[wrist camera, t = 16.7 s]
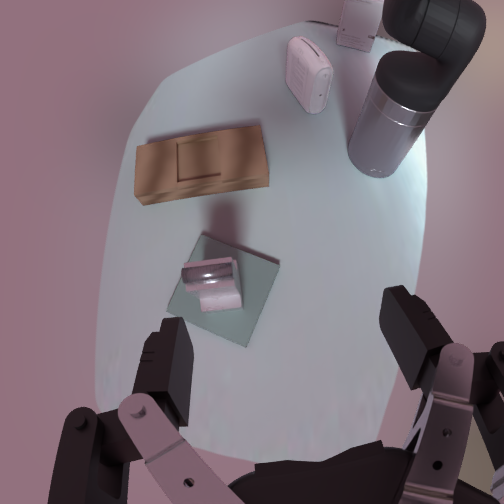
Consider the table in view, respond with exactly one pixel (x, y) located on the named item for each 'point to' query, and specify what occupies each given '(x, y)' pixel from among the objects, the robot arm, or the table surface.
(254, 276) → the rubber mat
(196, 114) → the table surface
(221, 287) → the lever cap
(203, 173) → the body
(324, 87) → the photo printer
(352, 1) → the skincare box
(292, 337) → the table surface
